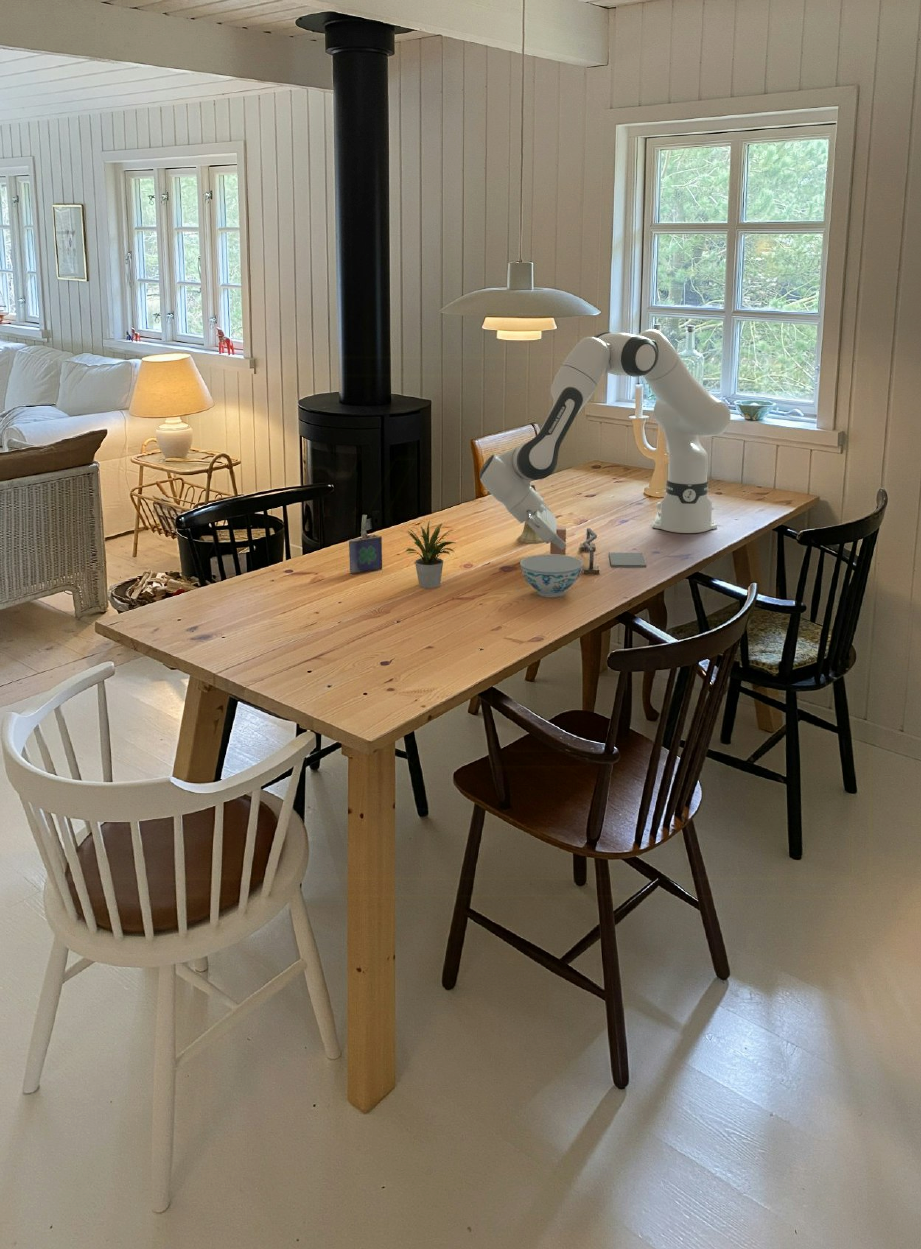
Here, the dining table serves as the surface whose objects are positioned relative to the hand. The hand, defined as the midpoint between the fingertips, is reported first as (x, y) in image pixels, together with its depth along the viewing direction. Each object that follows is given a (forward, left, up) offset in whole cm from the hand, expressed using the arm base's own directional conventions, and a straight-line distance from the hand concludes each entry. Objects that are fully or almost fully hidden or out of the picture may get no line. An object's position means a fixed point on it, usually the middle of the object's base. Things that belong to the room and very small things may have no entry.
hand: (564, 542), depth 292 cm
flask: (+12, -52, -5) cm, 53 cm away
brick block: (0, -2, -5) cm, 5 cm away
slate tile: (0, +17, -5) cm, 18 cm away
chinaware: (+29, -4, -5) cm, 30 cm away
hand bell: (-21, -9, -5) cm, 23 cm away
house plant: (+25, -35, -5) cm, 43 cm away
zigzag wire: (0, +7, -5) cm, 8 cm away
